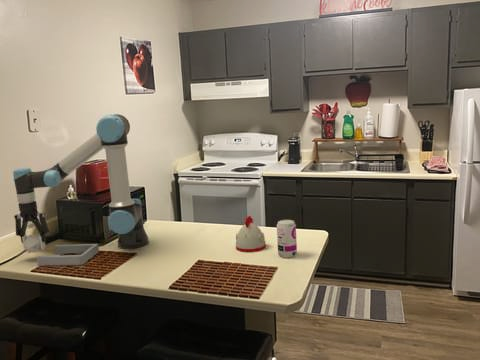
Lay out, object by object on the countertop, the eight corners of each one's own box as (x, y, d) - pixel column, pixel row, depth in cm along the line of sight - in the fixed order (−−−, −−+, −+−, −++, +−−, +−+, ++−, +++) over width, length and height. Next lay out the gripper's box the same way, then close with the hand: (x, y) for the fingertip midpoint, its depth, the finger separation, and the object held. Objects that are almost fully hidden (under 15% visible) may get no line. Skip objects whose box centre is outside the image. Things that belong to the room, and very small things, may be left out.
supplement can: (299, 253, 196) (298, 219, 194) (293, 259, 189) (292, 225, 186) (281, 251, 200) (280, 218, 197) (275, 257, 192) (273, 224, 190)
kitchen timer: (231, 251, 204) (229, 219, 202) (242, 242, 217) (240, 212, 214) (260, 253, 199) (258, 220, 196) (269, 243, 211) (268, 213, 209)
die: (30, 256, 204) (41, 237, 205) (16, 248, 205) (26, 229, 207) (41, 257, 212) (51, 238, 213) (26, 249, 213) (36, 230, 215)
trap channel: (99, 251, 216) (98, 243, 215) (83, 264, 199) (82, 256, 198) (56, 252, 218) (55, 245, 217) (37, 265, 201) (36, 257, 201)
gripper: (52, 198, 208) (59, 245, 212) (11, 201, 210) (19, 247, 214) (43, 202, 201) (51, 250, 205) (1, 204, 203) (9, 252, 207)
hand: (35, 248), depth 210 cm, fingers closed on die, 8 cm apart
